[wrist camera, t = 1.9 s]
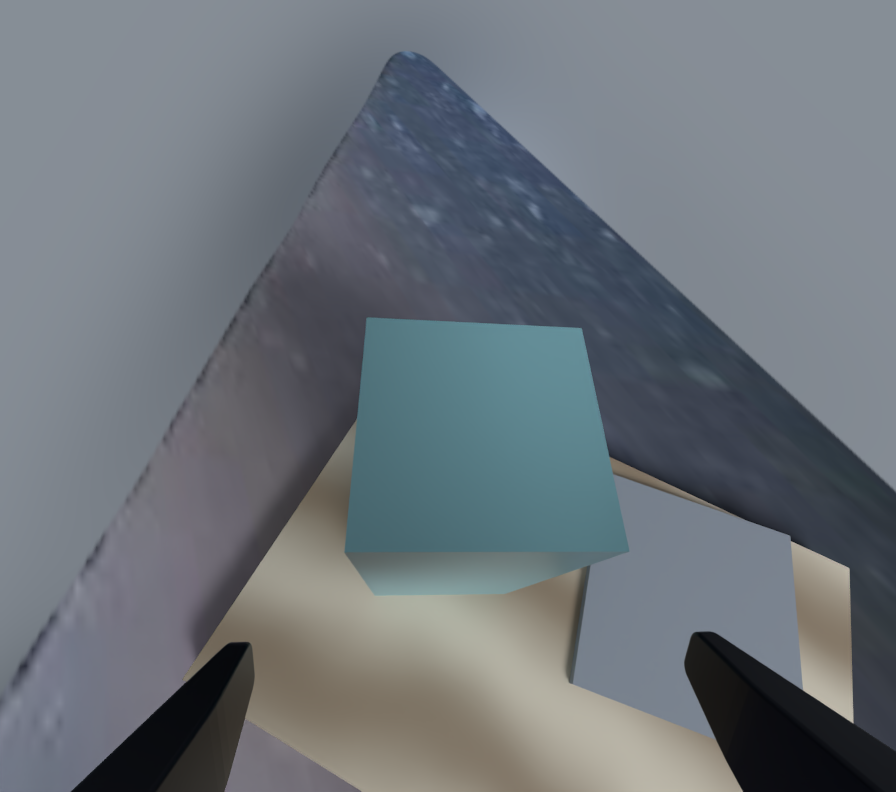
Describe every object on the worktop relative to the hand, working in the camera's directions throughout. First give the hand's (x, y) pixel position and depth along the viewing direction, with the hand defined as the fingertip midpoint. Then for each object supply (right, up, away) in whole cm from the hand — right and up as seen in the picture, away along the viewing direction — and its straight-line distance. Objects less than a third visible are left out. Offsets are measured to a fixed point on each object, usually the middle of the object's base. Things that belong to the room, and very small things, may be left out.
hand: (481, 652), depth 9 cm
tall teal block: (-1, -1, +10) cm, 10 cm away
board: (+4, -5, +10) cm, 12 cm away
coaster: (+10, -4, +10) cm, 14 cm away
